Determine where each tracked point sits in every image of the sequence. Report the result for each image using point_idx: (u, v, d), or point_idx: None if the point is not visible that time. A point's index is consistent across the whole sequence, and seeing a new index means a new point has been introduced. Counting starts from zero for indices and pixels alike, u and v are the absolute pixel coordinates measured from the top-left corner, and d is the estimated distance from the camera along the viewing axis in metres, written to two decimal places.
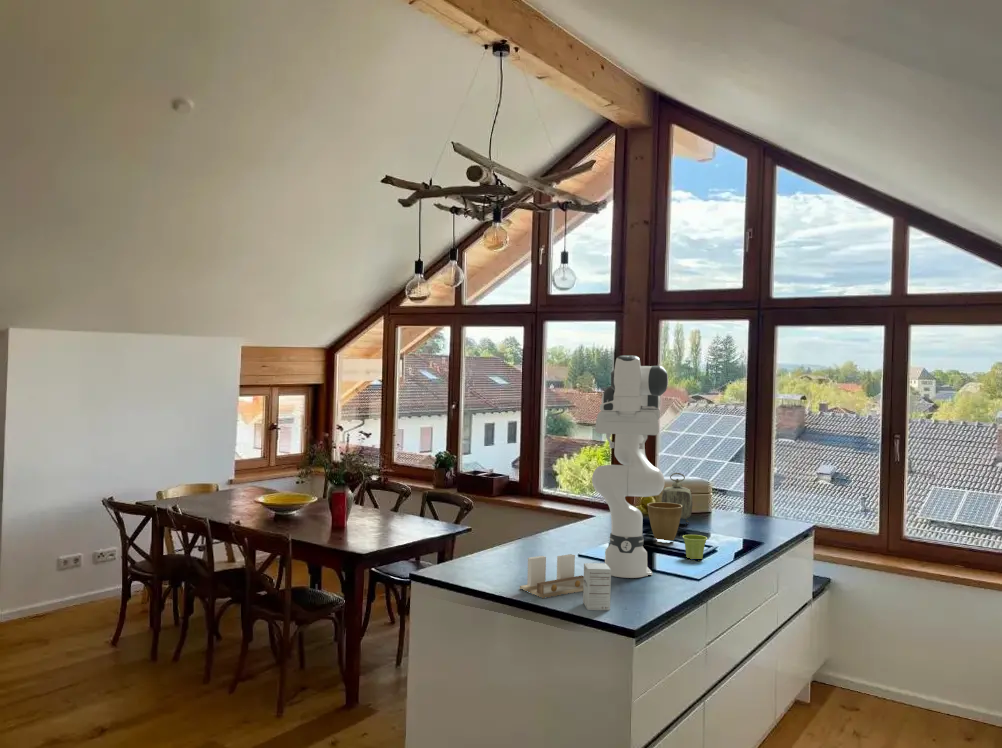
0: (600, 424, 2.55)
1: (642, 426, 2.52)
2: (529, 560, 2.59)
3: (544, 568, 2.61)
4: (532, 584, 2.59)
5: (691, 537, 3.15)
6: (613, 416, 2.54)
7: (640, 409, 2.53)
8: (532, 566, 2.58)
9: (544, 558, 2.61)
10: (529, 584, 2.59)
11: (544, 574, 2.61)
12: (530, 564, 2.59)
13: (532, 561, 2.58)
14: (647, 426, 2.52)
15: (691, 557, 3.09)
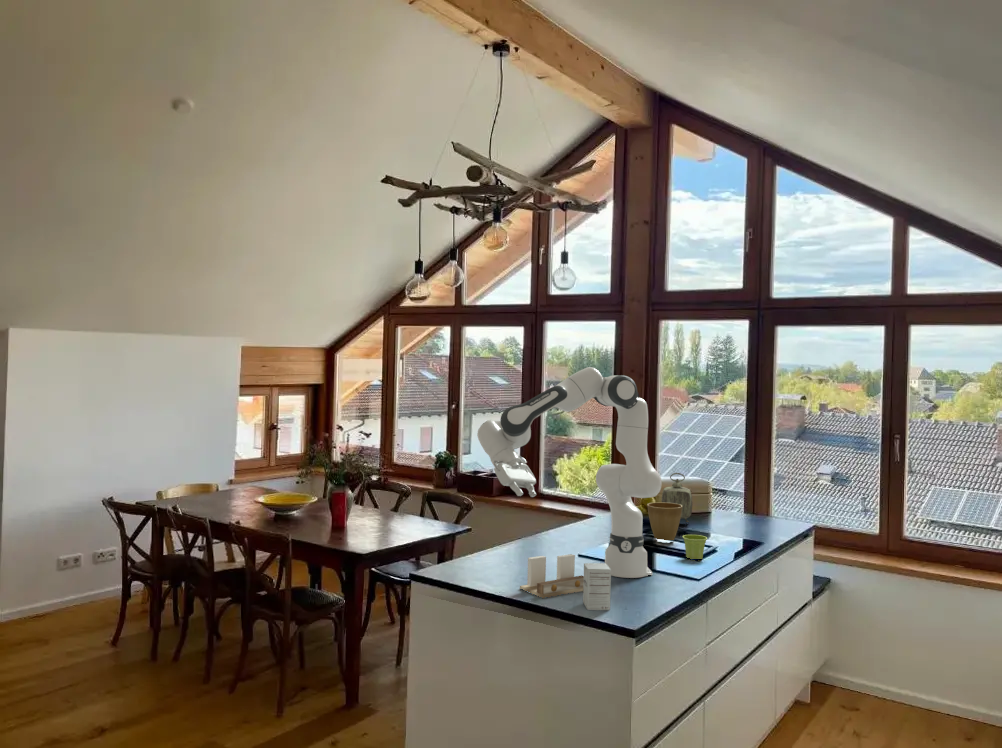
0: None
1: None
2: (529, 560, 2.59)
3: (544, 568, 2.61)
4: (532, 584, 2.59)
5: (691, 537, 3.15)
6: None
7: None
8: (532, 566, 2.58)
9: (544, 558, 2.61)
10: (529, 584, 2.59)
11: (544, 574, 2.61)
12: (530, 564, 2.59)
13: (532, 561, 2.58)
14: None
15: (691, 557, 3.09)
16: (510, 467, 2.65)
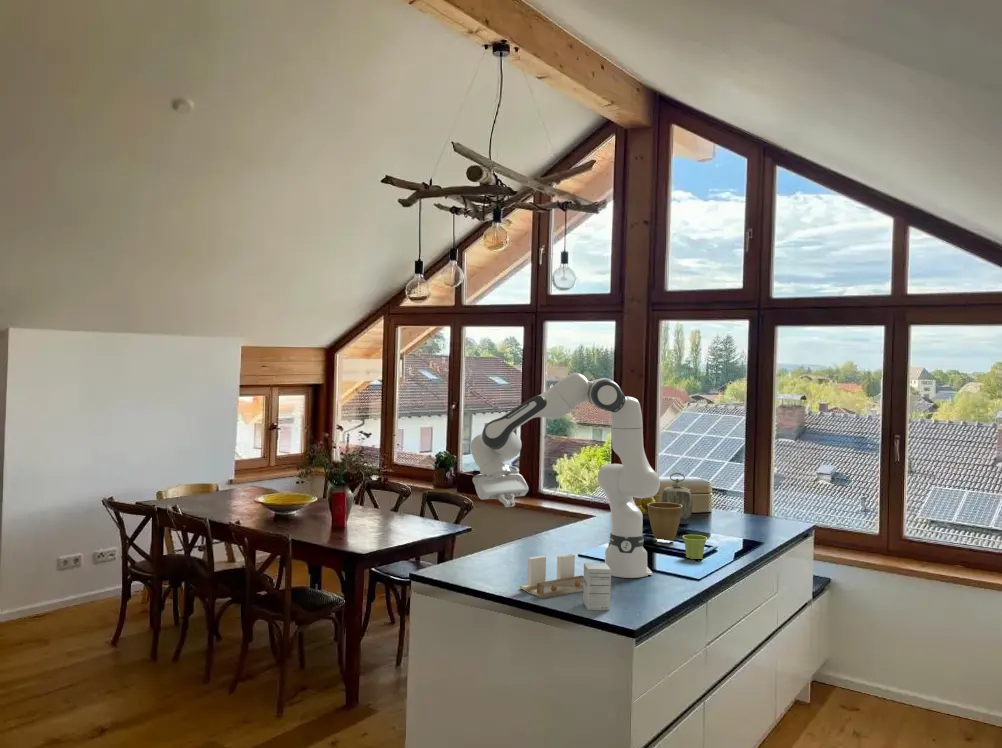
0: None
1: None
2: (529, 560, 2.59)
3: (544, 568, 2.61)
4: (532, 584, 2.59)
5: (691, 537, 3.15)
6: None
7: None
8: (532, 566, 2.58)
9: (544, 558, 2.61)
10: (529, 584, 2.59)
11: (544, 574, 2.61)
12: (530, 564, 2.59)
13: (532, 561, 2.58)
14: None
15: (691, 557, 3.09)
16: (492, 480, 2.76)
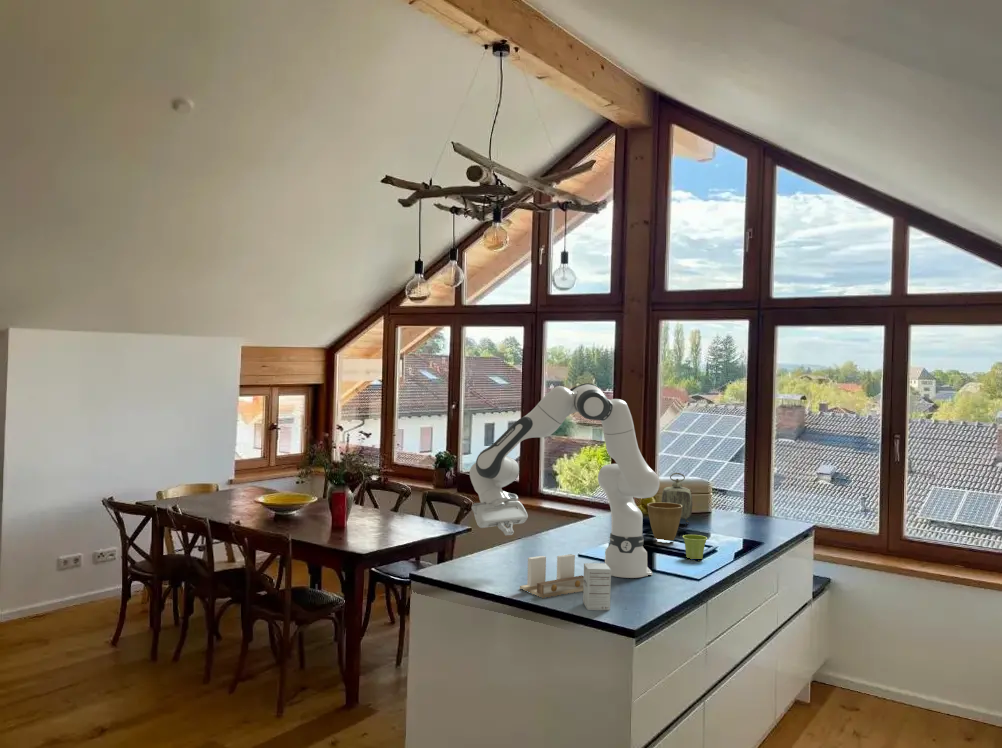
0: None
1: None
2: (529, 560, 2.59)
3: (544, 568, 2.61)
4: (532, 584, 2.59)
5: (691, 537, 3.15)
6: None
7: None
8: (532, 566, 2.58)
9: (544, 558, 2.61)
10: (529, 584, 2.59)
11: (544, 574, 2.61)
12: (530, 564, 2.59)
13: (532, 561, 2.58)
14: None
15: (691, 557, 3.09)
16: (491, 508, 2.76)
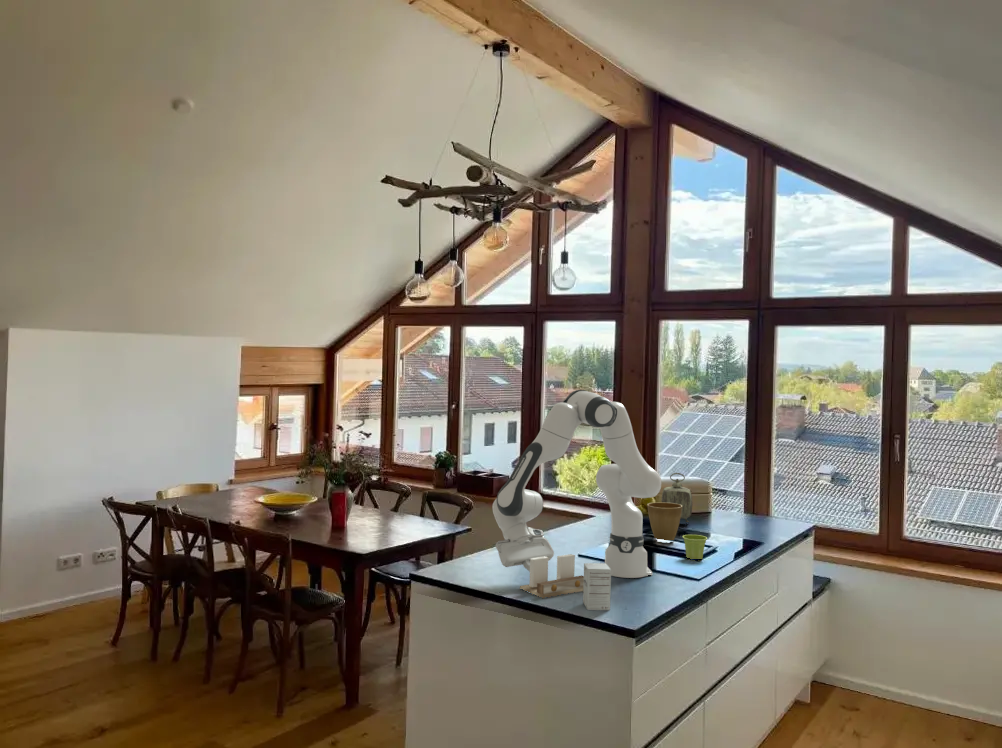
0: None
1: None
2: (531, 561, 2.58)
3: (546, 569, 2.60)
4: (534, 585, 2.58)
5: (691, 537, 3.15)
6: None
7: None
8: (534, 567, 2.58)
9: (546, 559, 2.60)
10: (531, 585, 2.58)
11: (546, 575, 2.60)
12: (532, 565, 2.58)
13: (534, 562, 2.57)
14: None
15: (691, 557, 3.09)
16: (516, 545, 2.64)
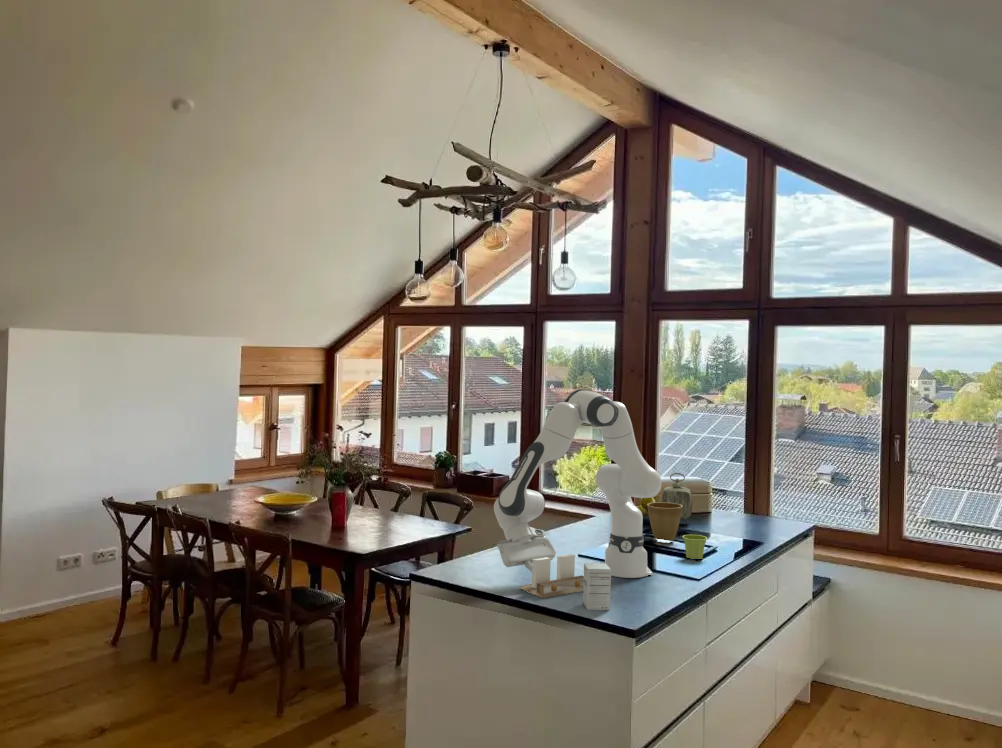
0: None
1: None
2: (533, 561, 2.57)
3: (549, 570, 2.59)
4: None
5: (691, 537, 3.15)
6: None
7: None
8: (537, 568, 2.57)
9: (549, 559, 2.59)
10: (533, 586, 2.57)
11: (549, 576, 2.60)
12: (534, 566, 2.57)
13: (536, 562, 2.56)
14: None
15: (691, 557, 3.09)
16: (518, 545, 2.63)
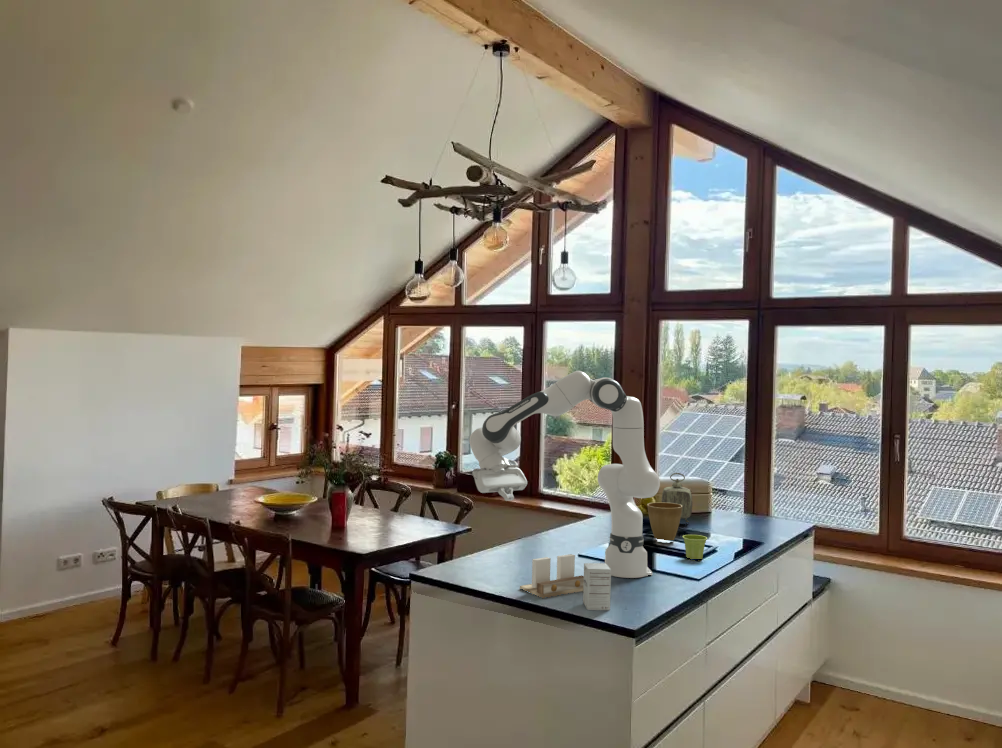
0: None
1: None
2: (533, 561, 2.57)
3: (549, 570, 2.59)
4: None
5: (691, 537, 3.15)
6: None
7: None
8: (537, 568, 2.57)
9: (549, 559, 2.59)
10: (533, 586, 2.57)
11: (549, 576, 2.60)
12: (534, 566, 2.57)
13: (536, 562, 2.56)
14: None
15: (691, 557, 3.09)
16: (492, 473, 2.77)
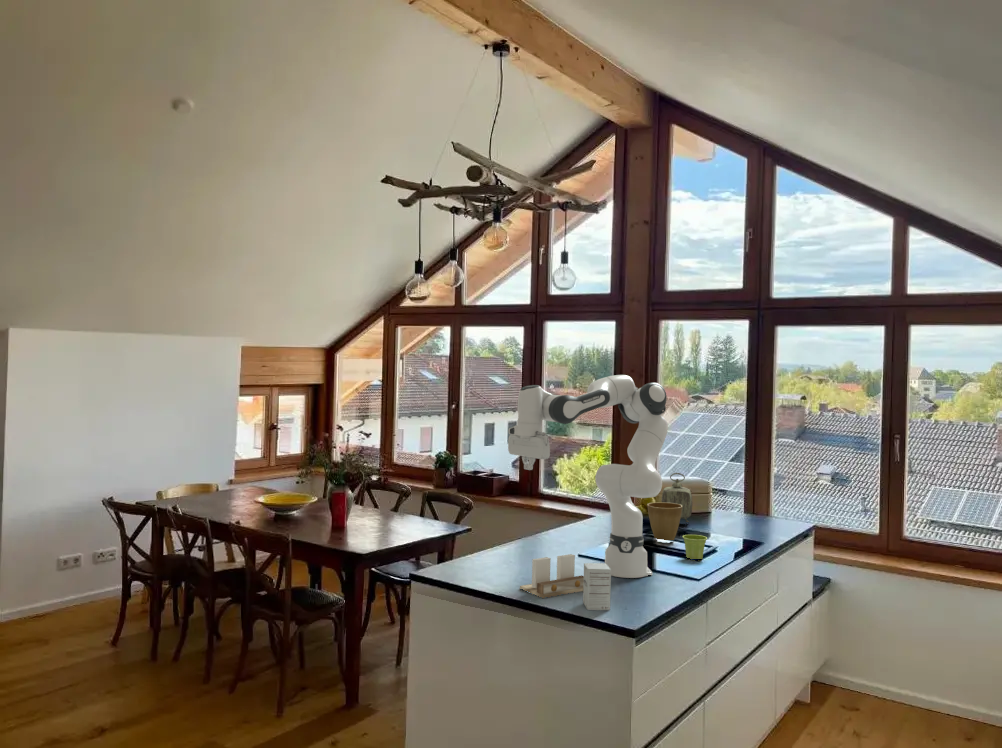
0: (510, 445, 2.87)
1: (533, 450, 2.77)
2: (533, 561, 2.57)
3: (549, 570, 2.59)
4: None
5: (691, 537, 3.15)
6: (517, 439, 2.84)
7: (534, 434, 2.78)
8: (537, 568, 2.57)
9: (549, 559, 2.59)
10: (533, 586, 2.57)
11: (549, 576, 2.60)
12: (534, 566, 2.57)
13: (536, 562, 2.56)
14: (536, 450, 2.75)
15: (691, 557, 3.09)
16: None
